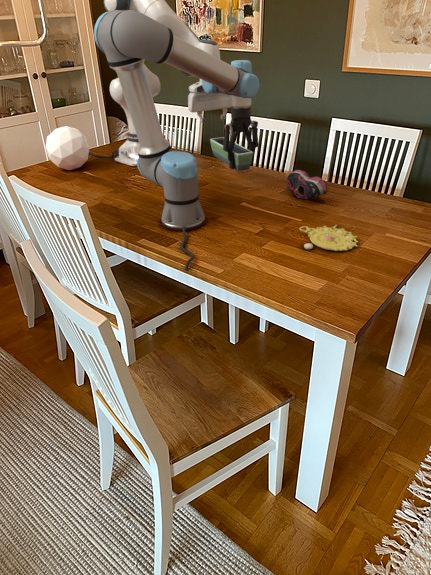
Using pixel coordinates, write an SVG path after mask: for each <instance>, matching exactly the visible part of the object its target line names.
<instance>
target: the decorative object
mask: <svg viewBox="0 0 431 575" xmlns="http://www.w3.org/2000/svg"><path fill="white" fill-rule="evenodd" d="M303 228H304V229H305V230H304V229H303ZM299 231H300V232H303V233H305V234H307V237H308V238H309V240H310V241H311V243H304V244H303V248H304V249H305V250H313V249H314V245H315V246H316V247H318V248H321V249H324V250H328V251H335V252H341V251H348V250H352V249H354V247H356V248H358V247H359V245H358V244H357V243H359V240H357V238H359V237H358V235H353V234H352V231H347V230H346V229H345V228H344V227H342V228H338V224H335V225H333V226H331V227H328V226H327V225H326V224H325V225H323V226H322V227H321V226H317V227H316V228H314V227H309V226H308V225H302V226H300V227H299ZM313 244H314V245H313Z"/></svg>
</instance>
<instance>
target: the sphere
mask: <svg viewBox="0 0 431 575" xmlns="http://www.w3.org/2000/svg"><path fill="white" fill-rule="evenodd" d="M44 148H45V152H46V154H47V158H48V160H49V161H51V162H52V163H53V164H54V165H55V167H57V168H60V169H63V170H66V171H72V170H75V169H79V168H81V167H82V166H83V165H84V164H85V163H87V161H88V160H89V155H90V154H89V152H90V147H89V142H88V139H87V137H86V136H85V135H84V133H82V132H81V131H80V130H79V129H78V128H74V127H72V126H67V125H65V126H61V127H57V128H54V129H53V131H52V132H50V133H49V135H47V136H46V141H45V146H44Z"/></svg>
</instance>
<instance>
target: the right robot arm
mask: <svg viewBox="0 0 431 575" xmlns="http://www.w3.org/2000/svg"><path fill="white" fill-rule="evenodd" d="M93 29H94V30H93V36H94V40H95V43H96V46H97V47H98V49H99V50H100V51H101V52H102V53H103V54H105V57H106V60H107V62H108V66H109V68H110V69H112V70H113V71H115V73H116V75H117V78H119V81H120V84H121V87H122V91H123V94H124V97H125V100H126V103H127V106H128V109H129V112H130V116H131V119H132V122H133V125H134V128H135V131H136V134H137V137H138V141H139V144H140V146H139V148H138V149H137V152H138V155H139V157H138V159H137V165H136V166H137V170H138V171H139V173H140V175H141V176H142V177H143V178H144V179H146V180H147V181H148V182H150V183H153V184H155V185H158V186H159V187H160V188H162V189H163V194H164V204H163V209H162V213H161V219H160V220H161V225H162V227H163V228H165V229H167V230H170V231H175V232H176V231H177V232H182V237H183V240H182V242H181V244H180V249H181V251H182V252H184V253H185V254H187V255H189V256H190V258H188V260H187V261H186V263H185V266H184V271H185V272H188V271H189V265H190V263H191V262H192V261H193V260H194V258H195V255H194V254H193V252H191V251H189V250H187V249H186V248H185V247H184V246H185V244H186V242H187V235H186V234H187V233H186V232H187V231H192V230H195V229H198V228H201V227H202V226H203V225H204V224H205V223H206V215H205V212H204V210H203V208H202V204H201V202H200V196H199V175H198V172H199V167H198V162H197V159H196V157H195V156H194V155H193V154H192V153H189V152H187V151H181V150H173V149H172V145H171V142H170V140H168V139H166V138H165V137H164V133H163V131H162V126H161V123H160V119H159V114H158V112H157V108H156V105H155V101H154V97H152V94H151V90H150V87H149V83H148V80H147V76H146V72H145V69H144V65H143V63H144V64H145V61H151V62H153V63H156V64H158V65H163V64H167V65H169V66H171V67H173V68H175V69H178V70H179V71H180V70H182V71H184V72H186V73H188V74H191V75H193V77H195V78H196V79H199V80H200V79H202V86H203V89H204V91H205V92H206V93H208V94H216V93H222V94H227V95H231V106H233V107H230V122H229V123H224V124H223V129H224V134H223V137H224V142H223V150H224V151H226V152H228V160H229V161H230V166H229V169H231V170H235V169H234V152H232V151H233V148H234V145H235V143H237V142H236V141H237V139H238V136H239V135H240V134H241V133H243V134H244V136H245V139H246V142H247V145H248V148H247V149H248V150H250V151H252V152H253V156H252V158H254V156H255V150H256V148H258V147H259V146H260V145H259V136H258V135H259V133H258V125H259V122H258V121H256V120H252V119H251V117H252V107H251V106H252V99H253V98H255V96H257V94H258V92H259V89H260V81H259V78H258V76H257V75H256V74H254V73H253V70H252V68H253V67H252V62H251V61H250V60H247V59H237V60H232V61H231V62H230V64H229V63H227V62H226V61H223V60H222V59H221V58H220V59H218V58H216V57H214V56H212V55H210V54H209V53H207V52H205V51H203V50H201V49H199V48H197V47H195V46H193V45H191V44H189V43H188V42H186V41H184V40H182V39H180V38H178V37H176V36H174V33H173V31H172V30H171V29H170V28H168V27H166V26H164V25H162V24H161V23H159V22H157V21H155V20H154V19H152V18H150V17H148V16H146V15H145V14H143V13H140V12H138V11H135V10H126V11H123V10H113V11H109V12H107V11H106V12H103V13H102V14H100V16H98V18H97V19H96V22H95V24H94V28H93ZM250 127H251V131H250ZM231 129H232V130H231ZM229 140H230V142H229ZM251 167H253V160H252V161H251V165H250V168H251Z"/></svg>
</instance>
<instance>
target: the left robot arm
mask: <svg viewBox="0 0 431 575" xmlns="http://www.w3.org/2000/svg"><path fill="white" fill-rule="evenodd" d="M102 3H103V6H104V9H105V11H106V12H109V11H113V10H123V11H126V10H135V11H138V12H140V13H143V14H145V15H146V16H148V17H150V18H152V19H154V20H155V21H157V22H159V23H161V24H162V25H164V26H166V27H168V28H170V29H171V30H172V31H173V33H174V36H176V37H178V38H180V39H182V40H184V41H186V42H188V43H189V44H191V45H193V46H195V47H197V48H199V49H201V50H203V51H205V52H207V53H209V54H210V55H212V56H214V57H216V58H218V59H220V60H221V52H220V47H219V44H218V42H216V41H215V40H211V39H202V40H201V39H200V37H198V36H197V34H196V33H195V32H194V31H193V30H192V28H191V27H190V26H189V25H188V24H187V23H186V22H185V21H184V20H183V19H182V18H180V16H179V15H178V14H177V13H176V12H175V11H174V10H173V9H172V8H171V7H170V5H169V4H168V3H167V1H166V0H103V2H102ZM143 65H144V69H145V72H146V76H147V80H148V83H149V87H150V90H151V94H152V97H153V98H155V97H156V96H158V95H159V94H160V93H161V90H162V89H161V88H162V87H161V81H160V79H159V77H158V76H157V74H155V73H154V72H152V71H151V70H150V69H149V68H148V67H147V65H146V64H145V62H144V63H143ZM179 71H180V73H181V74H182V75H183V76H185V77H188V78H189V77H190V78H193V77H194V76H193V75H191V74H188V73H186V72H184V71H182V70H180V69H179ZM188 91H189V94H188V95H187V109H188V111H189V112H190V113H192V114H193V113H196V115H197V116H198V117H199V122H200V124H205V122H206V118H205V117H203V116H202V114H203V112H207V111H208V112H209V111H214V110H222V114H220V116H219V117H220V120H221V121H225V120H226V115H227V113H228V109H231V108H232V107H233V106H231V95H227V94H222V93H216V94H208V93H206V92H205V91H204V89H203V86H202V79H199V81H197V82H195V83H193V84H190V86H188ZM109 94H110V96H111V98H112V100H114V102H116V103H117V104H118V105H120V107H121V108H122V109H123V111H124V113H125V116H126V120H127V127H128V132H126V133H125V137H127V139H126V140H125V141H124V142H123V143H122V144H121V145H120V146H119V147H118V148H116V149H114V150H113V151H112V152H111V155H110V156H107V155H100V154H96V153H93V152H90V151H89V155H91V156H94V157H97V158H103V159H108V158H109V159H111V158H114V161H115V162H118V163H120V164H124V165H127V166H131V167H136V166H137V159H138V157H139V155H138V152H137V149H138V148H139V146H140V144H139V141H138V137H137V134H136V131H135V128H134V125H133V122H132V119H131V116H130V112H129V109H128V106H127V103H126V100H125V97H124V94H123V91H122V87H121V84H120V81H119V78H118V77H116V78H114V79H112V80H111V82H110V83H109ZM114 156H116V157H114Z"/></svg>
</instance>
